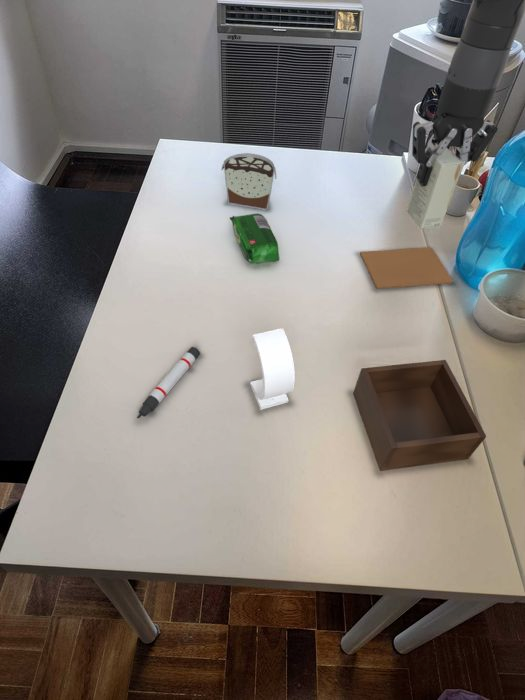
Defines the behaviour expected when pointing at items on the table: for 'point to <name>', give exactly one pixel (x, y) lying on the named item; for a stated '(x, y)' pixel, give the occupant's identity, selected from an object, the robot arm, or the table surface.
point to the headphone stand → (273, 369)
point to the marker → (169, 381)
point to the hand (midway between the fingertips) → (435, 183)
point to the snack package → (255, 238)
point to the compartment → (416, 415)
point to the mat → (405, 268)
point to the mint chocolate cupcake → (249, 180)
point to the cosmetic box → (435, 191)
